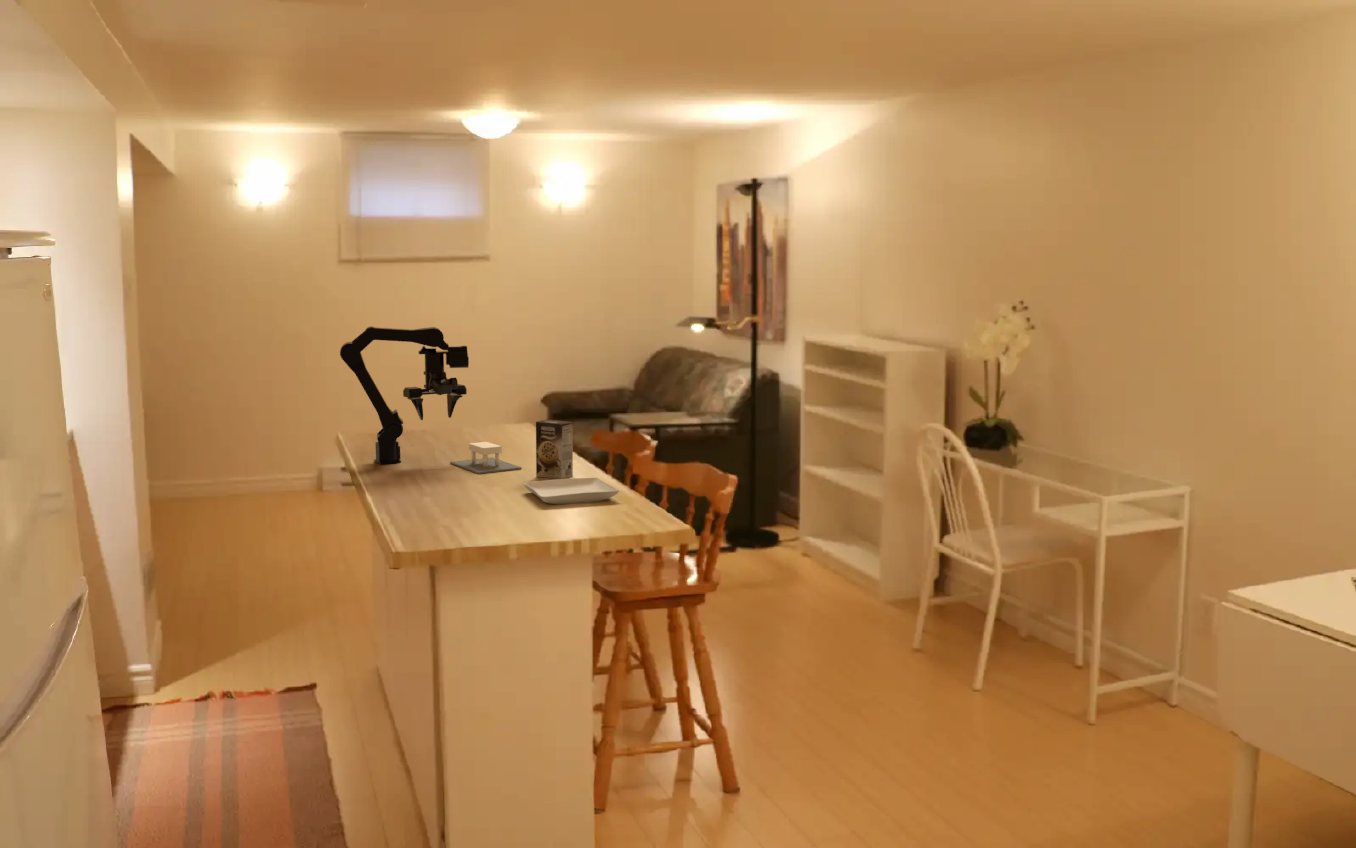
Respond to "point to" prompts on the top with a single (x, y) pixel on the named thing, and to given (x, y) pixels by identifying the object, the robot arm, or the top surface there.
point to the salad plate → (571, 490)
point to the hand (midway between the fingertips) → (435, 418)
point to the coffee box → (554, 449)
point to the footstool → (485, 451)
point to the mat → (490, 468)
